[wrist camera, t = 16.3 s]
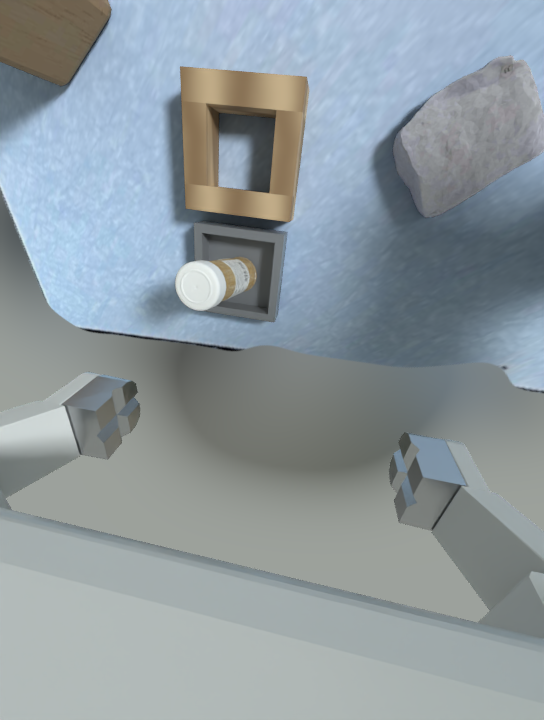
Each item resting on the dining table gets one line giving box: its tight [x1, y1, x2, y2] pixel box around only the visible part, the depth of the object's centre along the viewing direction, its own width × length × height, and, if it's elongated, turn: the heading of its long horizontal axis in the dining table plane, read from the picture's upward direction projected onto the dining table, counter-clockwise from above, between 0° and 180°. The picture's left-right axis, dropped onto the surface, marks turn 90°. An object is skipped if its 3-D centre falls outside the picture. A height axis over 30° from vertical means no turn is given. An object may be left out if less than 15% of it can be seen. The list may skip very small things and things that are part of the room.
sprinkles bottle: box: [175, 257, 257, 311], centre depth 34 cm, size 5×5×13 cm
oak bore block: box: [180, 66, 309, 222], centre depth 32 cm, size 12×12×4 cm
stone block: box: [393, 55, 544, 218], centre depth 29 cm, size 12×5×10 cm
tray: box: [194, 221, 287, 322], centre depth 39 cm, size 11×11×3 cm
